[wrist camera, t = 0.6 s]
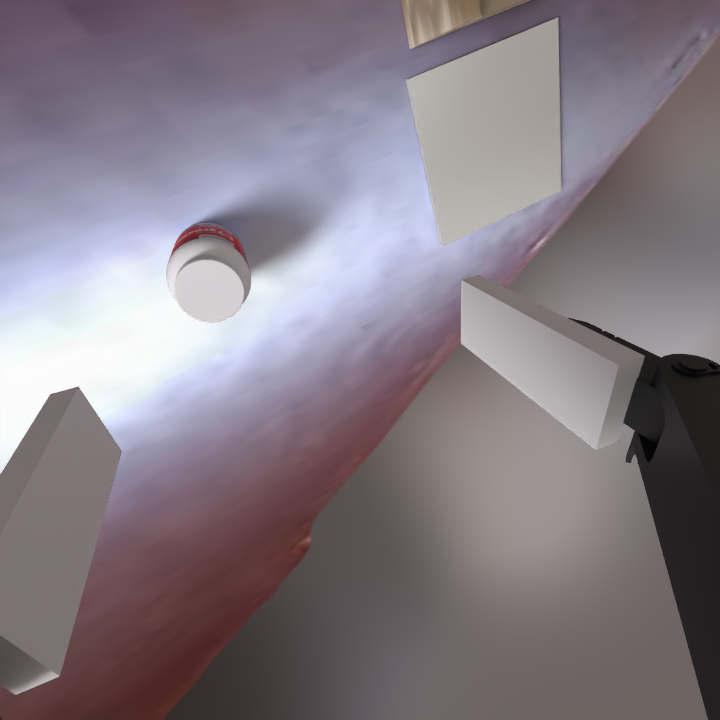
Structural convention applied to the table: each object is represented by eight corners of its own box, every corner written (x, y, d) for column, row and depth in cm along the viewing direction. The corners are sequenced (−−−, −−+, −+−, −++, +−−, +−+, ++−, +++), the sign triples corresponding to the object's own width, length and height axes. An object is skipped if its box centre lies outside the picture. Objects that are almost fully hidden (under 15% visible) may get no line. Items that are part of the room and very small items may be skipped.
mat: (405, 80, 34) (408, 79, 34) (553, 19, 36) (558, 17, 36) (440, 245, 43) (442, 246, 43) (557, 190, 45) (561, 190, 45)
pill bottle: (237, 218, 35) (247, 243, 26) (249, 281, 38) (262, 324, 29) (165, 225, 34) (148, 254, 25) (184, 291, 37) (176, 339, 28)
